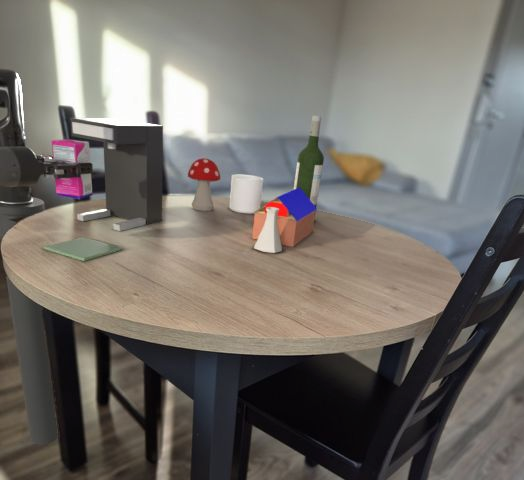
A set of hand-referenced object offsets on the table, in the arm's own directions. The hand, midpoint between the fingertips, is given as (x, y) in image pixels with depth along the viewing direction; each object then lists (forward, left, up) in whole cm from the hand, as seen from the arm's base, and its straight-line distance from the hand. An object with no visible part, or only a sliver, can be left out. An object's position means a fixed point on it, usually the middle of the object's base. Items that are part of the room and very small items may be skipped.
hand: (80, 164), depth 107 cm
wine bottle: (+31, +62, -16) cm, 71 cm away
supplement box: (0, -2, -7) cm, 7 cm away
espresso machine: (-3, +16, -15) cm, 23 cm away
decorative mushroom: (+3, +47, -16) cm, 50 cm away
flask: (+38, +23, -16) cm, 47 cm away
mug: (+12, +59, -16) cm, 62 cm away
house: (+35, +39, -16) cm, 54 cm away
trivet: (+9, -9, -15) cm, 20 cm away
